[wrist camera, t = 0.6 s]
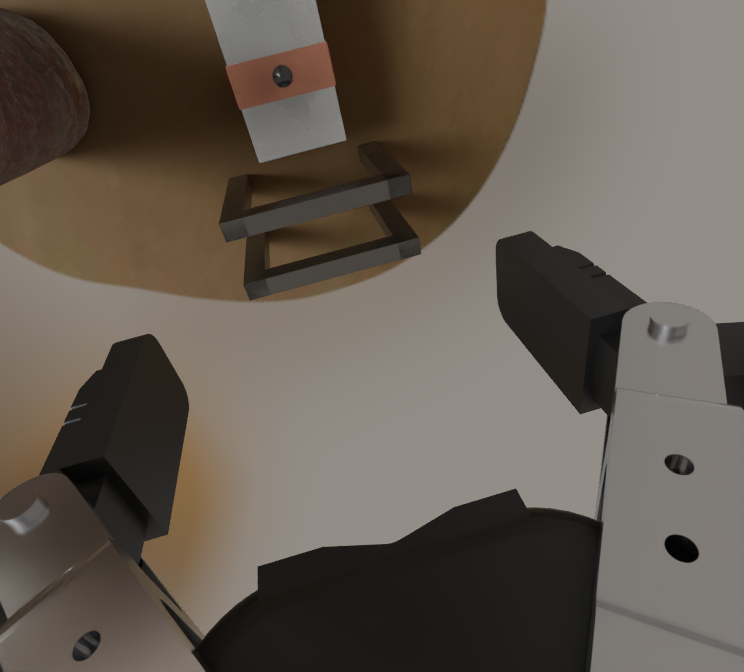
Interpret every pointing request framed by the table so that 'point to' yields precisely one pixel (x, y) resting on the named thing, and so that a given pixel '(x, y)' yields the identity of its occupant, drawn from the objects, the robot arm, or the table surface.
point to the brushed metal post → (279, 73)
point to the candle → (36, 98)
